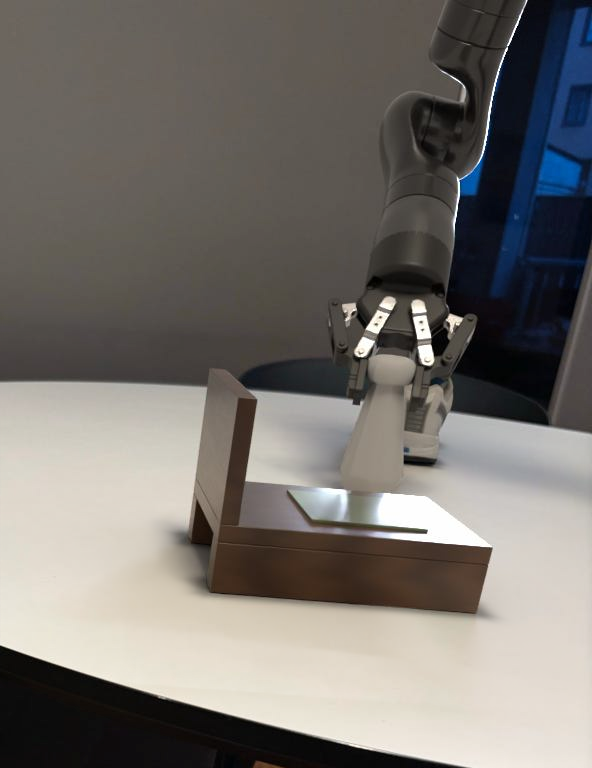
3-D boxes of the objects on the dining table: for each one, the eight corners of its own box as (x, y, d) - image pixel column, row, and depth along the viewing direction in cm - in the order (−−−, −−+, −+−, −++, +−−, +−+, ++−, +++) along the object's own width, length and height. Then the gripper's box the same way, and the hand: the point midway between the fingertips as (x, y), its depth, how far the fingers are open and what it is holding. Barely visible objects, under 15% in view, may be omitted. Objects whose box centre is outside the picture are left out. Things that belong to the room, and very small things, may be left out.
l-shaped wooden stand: (414, 553, 79) (450, 391, 75) (476, 613, 67) (524, 423, 63) (187, 535, 78) (209, 367, 73) (210, 592, 66) (238, 396, 61)
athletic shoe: (431, 432, 134) (428, 339, 129) (471, 472, 113) (470, 363, 108) (353, 441, 135) (348, 350, 131) (379, 483, 114) (374, 375, 110)
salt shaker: (331, 486, 98) (356, 349, 94) (390, 492, 98) (418, 355, 93) (340, 501, 93) (367, 356, 88) (403, 508, 93) (433, 363, 88)
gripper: (339, 220, 95) (307, 366, 88) (497, 236, 92) (477, 387, 86) (332, 279, 102) (302, 418, 95) (479, 295, 99) (459, 439, 92)
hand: (385, 402), depth 91 cm, fingers closed on salt shaker, 4 cm apart
